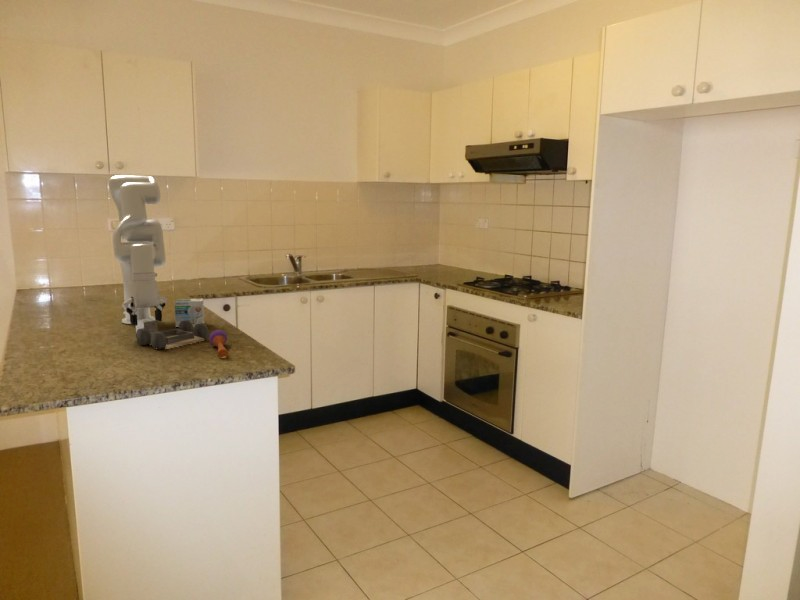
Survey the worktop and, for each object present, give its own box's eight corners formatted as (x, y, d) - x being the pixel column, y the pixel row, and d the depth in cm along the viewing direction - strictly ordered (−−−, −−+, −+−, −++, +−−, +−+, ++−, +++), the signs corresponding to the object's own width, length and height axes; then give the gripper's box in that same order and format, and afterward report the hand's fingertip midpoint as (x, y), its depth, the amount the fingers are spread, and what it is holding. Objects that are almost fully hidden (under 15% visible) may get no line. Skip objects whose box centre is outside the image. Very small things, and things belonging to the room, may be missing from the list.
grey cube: (136, 336, 215) (135, 320, 214) (149, 333, 220) (148, 318, 218) (144, 338, 212) (143, 322, 211) (158, 335, 216) (157, 320, 215)
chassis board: (135, 343, 204) (134, 327, 203) (182, 334, 219) (181, 318, 218) (161, 351, 195) (160, 333, 193) (208, 340, 210) (208, 324, 209)
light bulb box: (175, 328, 228) (173, 301, 227) (177, 324, 235) (175, 298, 233) (203, 327, 231) (202, 300, 229) (204, 323, 238) (203, 298, 236)
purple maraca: (211, 348, 185) (206, 330, 202) (215, 365, 186) (210, 345, 204) (230, 343, 186) (224, 325, 204) (234, 360, 188) (227, 341, 206)
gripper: (159, 274, 221) (161, 318, 223) (115, 278, 207) (118, 325, 209) (170, 275, 217) (173, 320, 219) (126, 280, 203) (130, 327, 205)
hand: (146, 322), depth 214 cm, fingers open, 9 cm apart
